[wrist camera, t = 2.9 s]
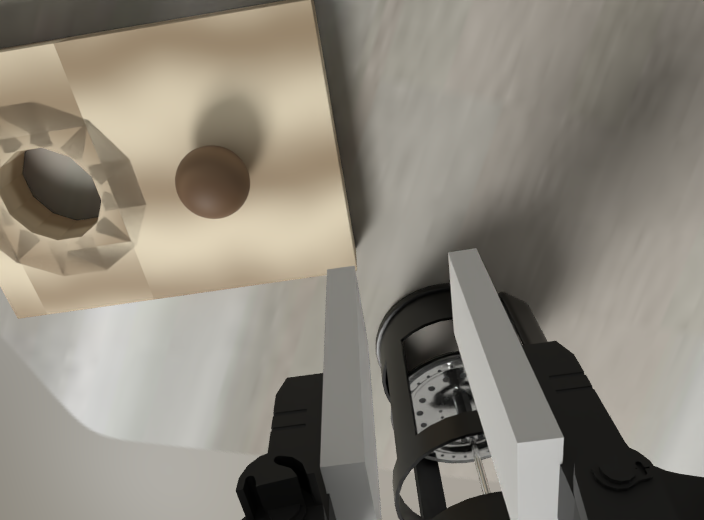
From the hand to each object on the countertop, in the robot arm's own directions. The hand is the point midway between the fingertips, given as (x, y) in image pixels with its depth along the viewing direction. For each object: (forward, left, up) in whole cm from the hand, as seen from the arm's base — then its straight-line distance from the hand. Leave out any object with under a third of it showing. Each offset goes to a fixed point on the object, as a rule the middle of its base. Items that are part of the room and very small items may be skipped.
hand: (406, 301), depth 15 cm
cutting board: (0, -12, -17) cm, 20 cm away
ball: (0, -8, -12) cm, 15 cm away
